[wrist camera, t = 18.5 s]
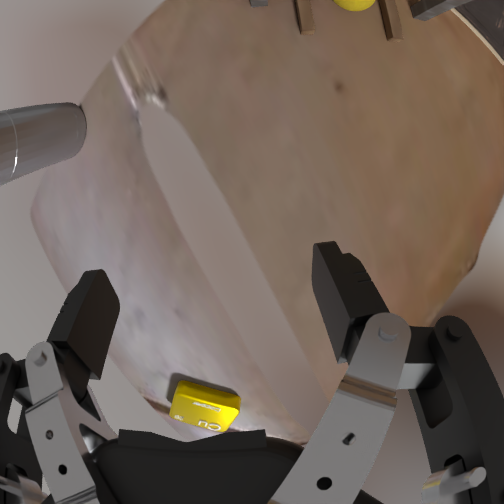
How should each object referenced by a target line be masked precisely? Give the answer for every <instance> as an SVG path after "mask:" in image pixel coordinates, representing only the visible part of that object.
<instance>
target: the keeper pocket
mask: <svg viewBox="0 0 504 504" xmlns="http://www.w3.org/2000/svg"><path fill="white" fill-rule="evenodd" d="M469 1H472V0H420V1H419V2H417V3H416V4H414V5H413V6H411V10H412V14H413V18H415V19H419V20H423V21H426V20H428V19H431V18H433V17H435V16H437V15H439V14H441V13H443V12H446V11H448V10H450V9H452V8H455V7H457V6H459V5H462V4H464V3H467V2H469ZM250 2H251V7H259V6H268V2H267V0H250ZM295 3H296V8H297V14H298V20H299V26H300V32H301V35H313V33H314V31H315V26H314V20H313V14H312V9H311V4H310V0H295ZM379 3H380V7H381V11H382V16H383V20H384V25H385V30H386V36H387V41H393V42H399V41H401V40H403V34H402V29H401V24H400V19H399V15H398V11H397V7H396V3H395V0H379Z"/></svg>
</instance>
